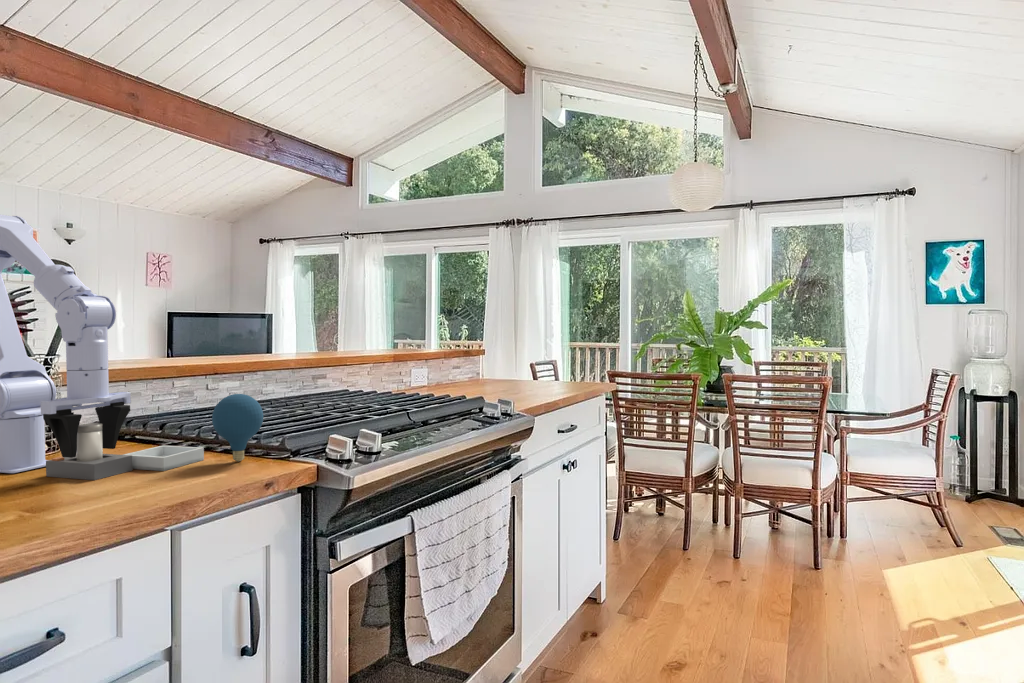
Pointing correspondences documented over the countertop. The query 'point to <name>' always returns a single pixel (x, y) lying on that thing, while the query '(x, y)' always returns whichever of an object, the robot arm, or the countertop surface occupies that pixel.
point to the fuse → (89, 442)
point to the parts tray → (165, 457)
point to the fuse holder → (89, 467)
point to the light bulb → (237, 421)
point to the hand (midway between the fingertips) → (89, 452)
